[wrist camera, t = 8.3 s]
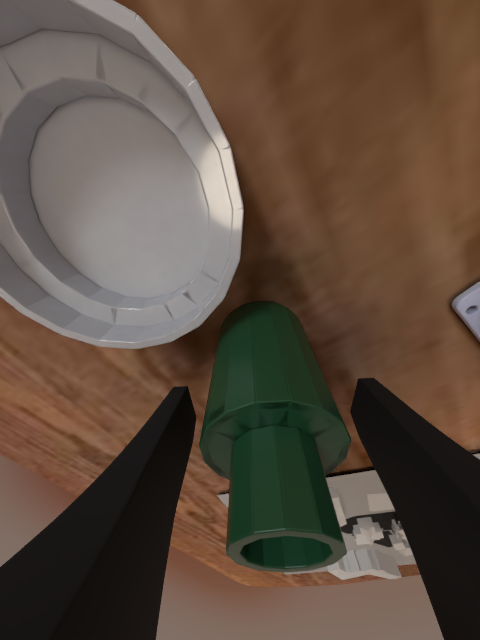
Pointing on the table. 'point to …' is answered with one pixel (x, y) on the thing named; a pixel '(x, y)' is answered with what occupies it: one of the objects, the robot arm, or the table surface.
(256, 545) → the bottle
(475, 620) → the robot arm
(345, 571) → the architectural model
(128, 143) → the dish
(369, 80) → the table surface
